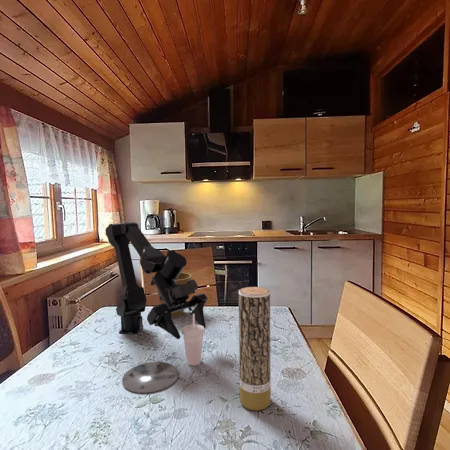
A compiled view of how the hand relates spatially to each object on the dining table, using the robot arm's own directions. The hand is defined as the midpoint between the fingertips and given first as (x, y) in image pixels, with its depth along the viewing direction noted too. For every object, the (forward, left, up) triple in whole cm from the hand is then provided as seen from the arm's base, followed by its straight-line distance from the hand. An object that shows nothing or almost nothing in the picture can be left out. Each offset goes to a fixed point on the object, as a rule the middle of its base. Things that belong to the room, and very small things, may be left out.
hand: (192, 333), depth 87 cm
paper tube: (+18, -16, -8) cm, 26 cm away
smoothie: (0, 0, -8) cm, 8 cm away
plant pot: (-18, +38, -8) cm, 43 cm away
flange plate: (-9, -9, -8) cm, 15 cm away
